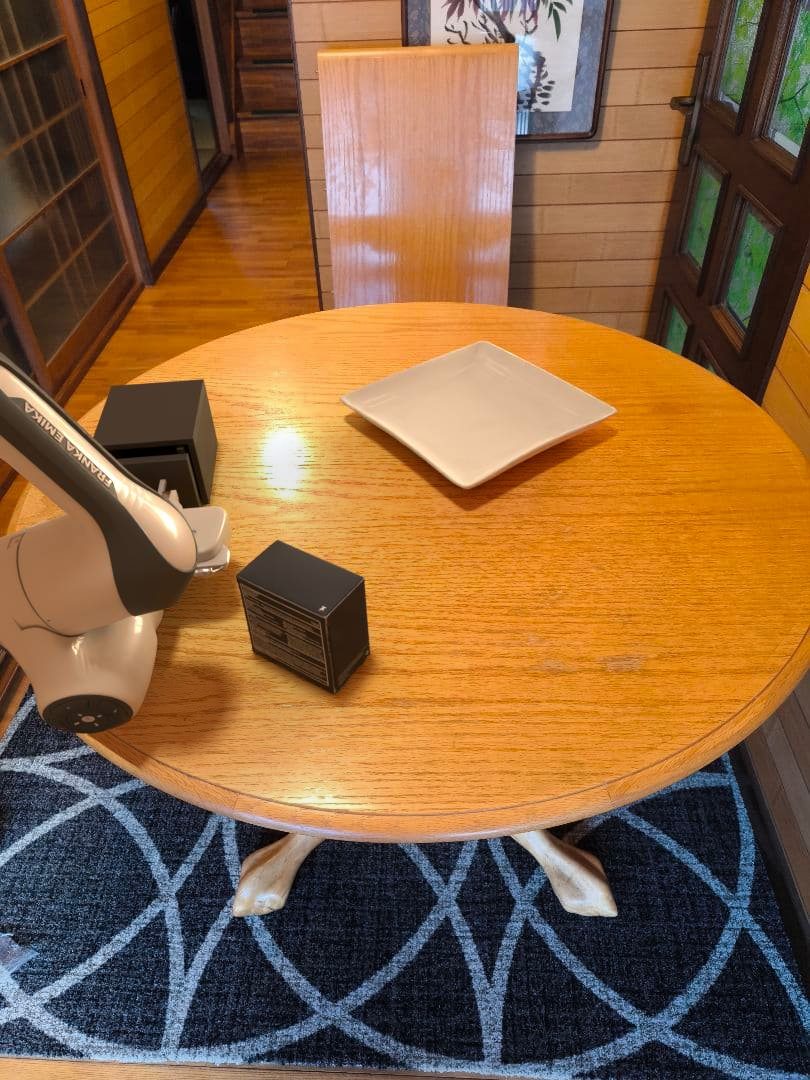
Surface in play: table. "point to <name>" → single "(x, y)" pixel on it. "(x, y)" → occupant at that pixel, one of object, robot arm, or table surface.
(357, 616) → the small box
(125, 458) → the drawer
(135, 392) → the cabinet
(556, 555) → the table surface
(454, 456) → the square plate
